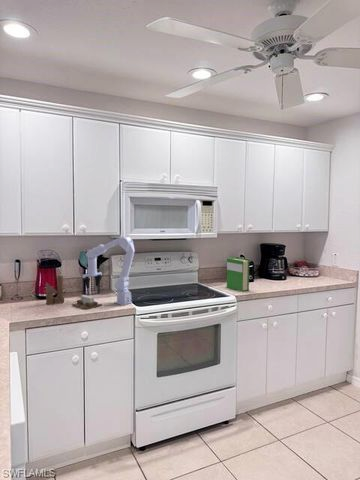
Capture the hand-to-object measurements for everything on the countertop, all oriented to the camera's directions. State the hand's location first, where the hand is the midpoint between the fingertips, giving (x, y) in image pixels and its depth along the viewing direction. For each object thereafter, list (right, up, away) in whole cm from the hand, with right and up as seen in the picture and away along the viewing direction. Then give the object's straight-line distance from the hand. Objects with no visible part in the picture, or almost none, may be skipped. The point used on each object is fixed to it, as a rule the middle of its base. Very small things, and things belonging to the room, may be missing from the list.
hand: (92, 287), depth 235 cm
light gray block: (0, -9, -12) cm, 15 cm away
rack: (0, -10, -12) cm, 16 cm away
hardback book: (+105, -7, +42) cm, 113 cm away
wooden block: (-23, -10, -6) cm, 26 cm away
